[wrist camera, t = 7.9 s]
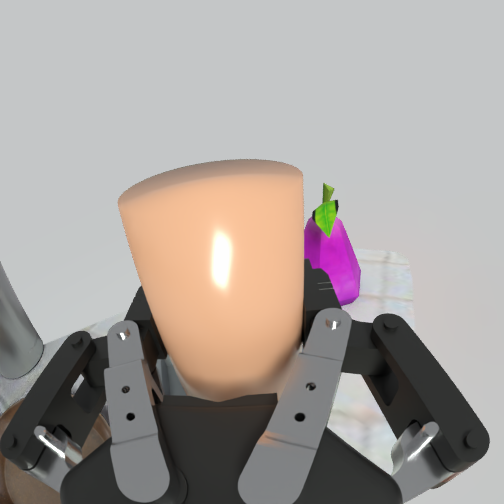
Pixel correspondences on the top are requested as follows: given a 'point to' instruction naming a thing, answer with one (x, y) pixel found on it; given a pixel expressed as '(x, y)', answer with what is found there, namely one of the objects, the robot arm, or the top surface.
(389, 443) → the top surface
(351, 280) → the pear
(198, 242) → the peach pillar candle
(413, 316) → the top surface
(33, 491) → the object
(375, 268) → the top surface
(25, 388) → the top surface
